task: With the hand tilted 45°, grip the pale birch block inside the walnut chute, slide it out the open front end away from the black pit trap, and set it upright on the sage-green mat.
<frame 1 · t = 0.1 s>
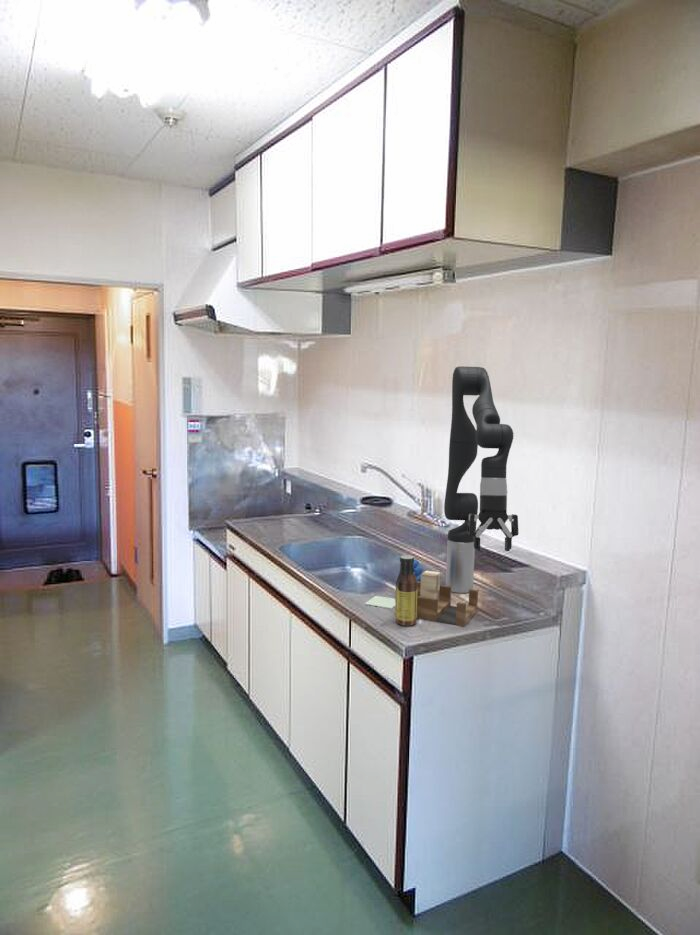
hand: (492, 550, 189), 22 cm above the countertop, tool pointing down, fingers open, 8 cm apart
block: (429, 605, 203), point 2 cm above the countertop, touching tunnel
grapes: (414, 594, 221), on the countertop
mat: (383, 602, 211), on the countertop
tunnel: (435, 612, 203), on the countertop
sauce bottle: (405, 623, 193), on the countertop
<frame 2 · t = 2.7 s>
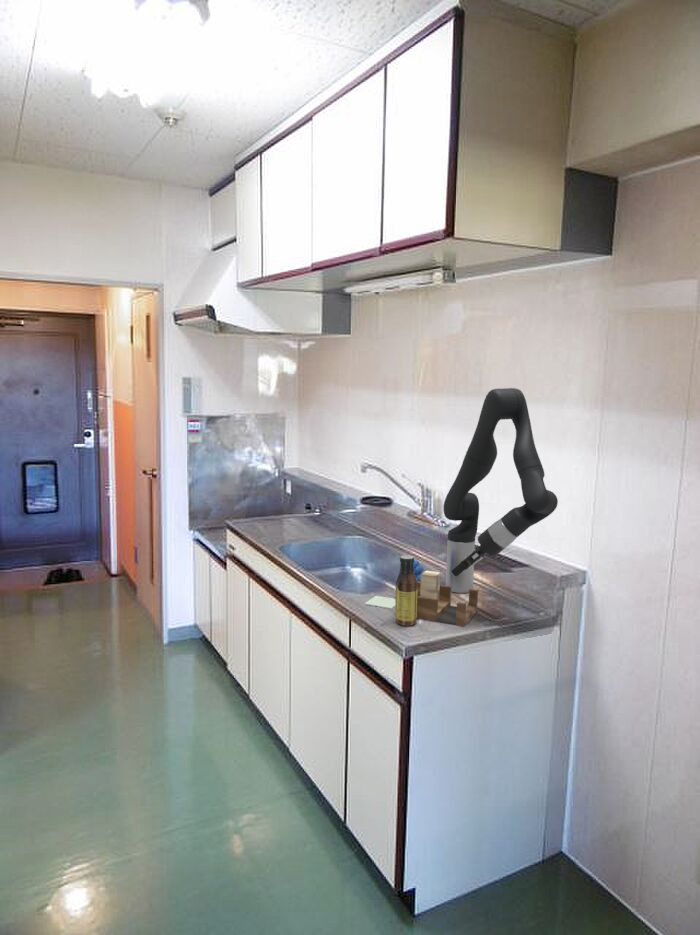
hand: (457, 570, 199), 14 cm above the countertop, tool tilted 45°, fingers open, 8 cm apart
nothing on the countertop moved.
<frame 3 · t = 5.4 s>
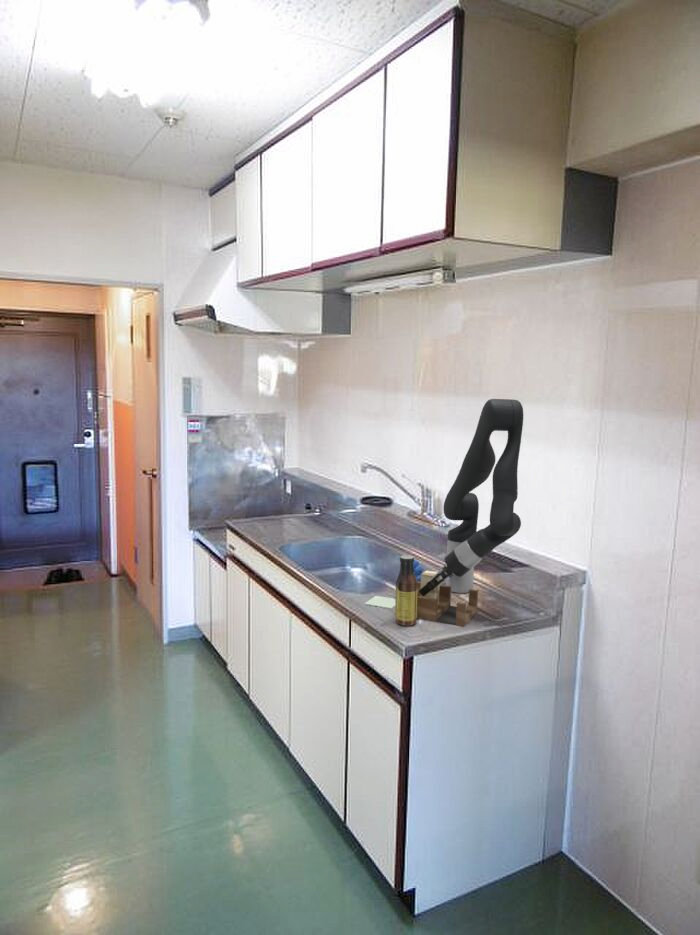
hand: (424, 591, 204), 6 cm above the countertop, tool tilted 45°, fingers closed on block, 5 cm apart
block: (429, 605, 203), point 2 cm above the countertop, touching gripper, tunnel
everything else where it was.
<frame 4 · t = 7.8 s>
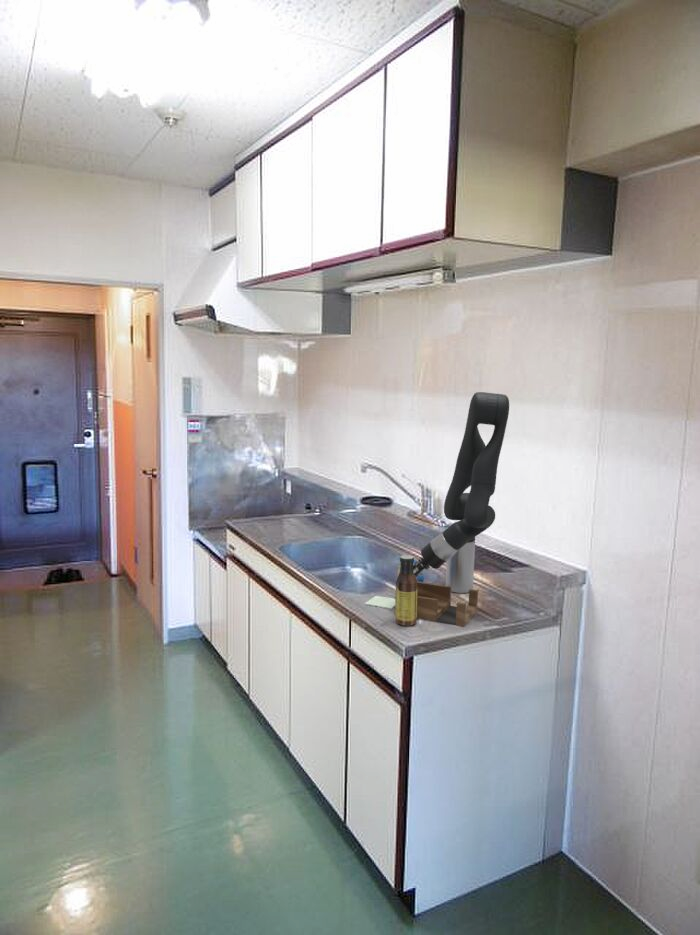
hand: (401, 583, 207), 8 cm above the countertop, tool tilted 45°, fingers closed on block, 5 cm apart
block: (406, 597, 206), point 3 cm above the countertop, touching gripper
everything else where it was.
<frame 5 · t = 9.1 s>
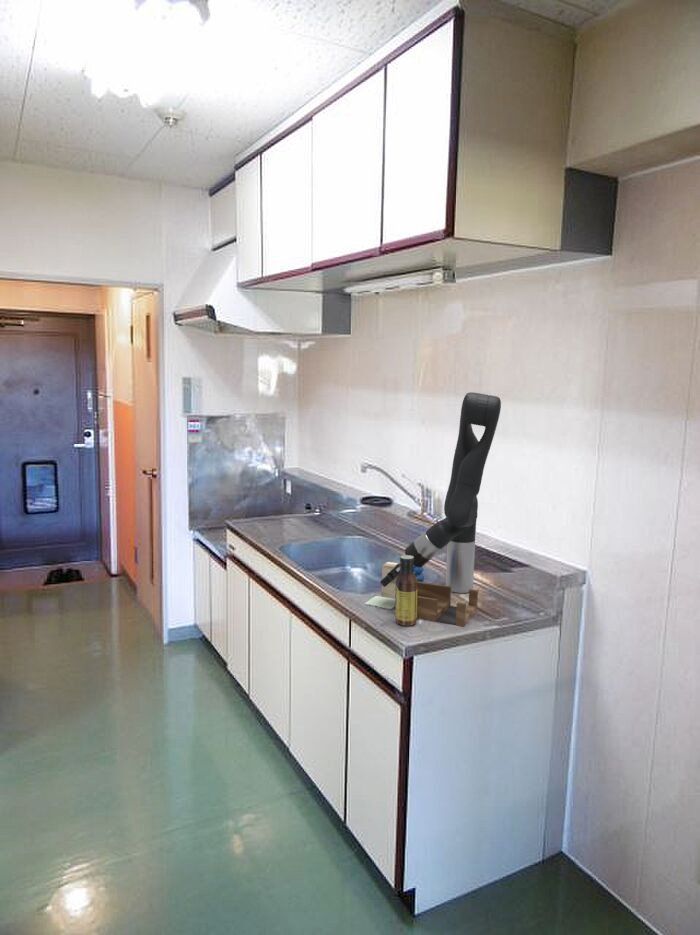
hand: (385, 581, 209), 7 cm above the countertop, tool tilted 45°, fingers closed on block, 5 cm apart
block: (390, 595, 209), point 3 cm above the countertop, touching gripper
everything else where it was.
when the fingers open (6 cm above the countertop, at t = 10.2 s): block drops 1 cm, resting on mat.
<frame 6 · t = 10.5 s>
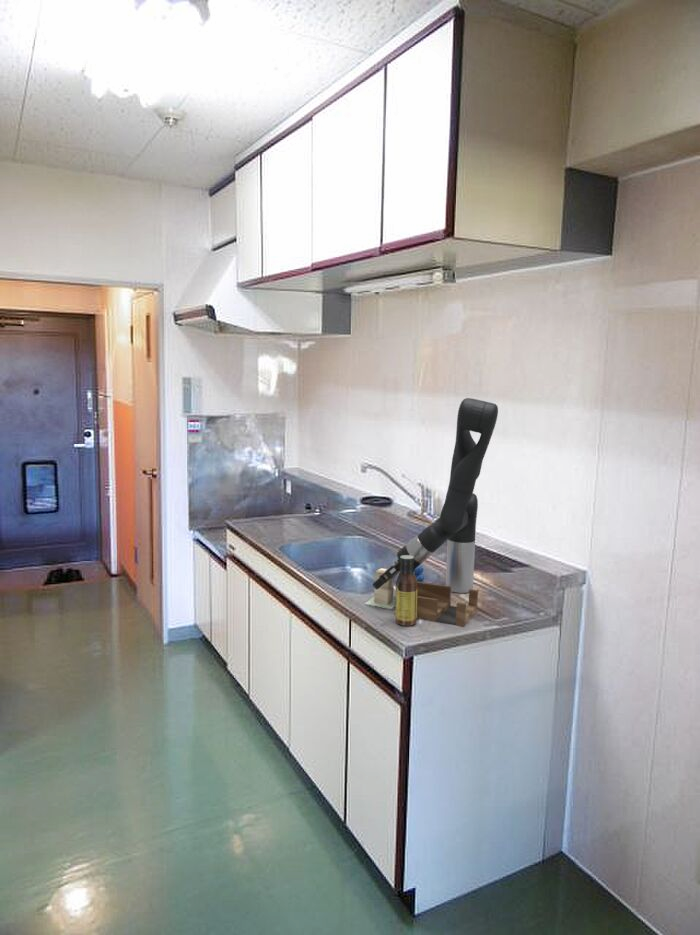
hand: (379, 583, 211), 6 cm above the countertop, tool tilted 45°, fingers open, 8 cm apart
block: (383, 601, 211), resting on mat
everything else where it was.
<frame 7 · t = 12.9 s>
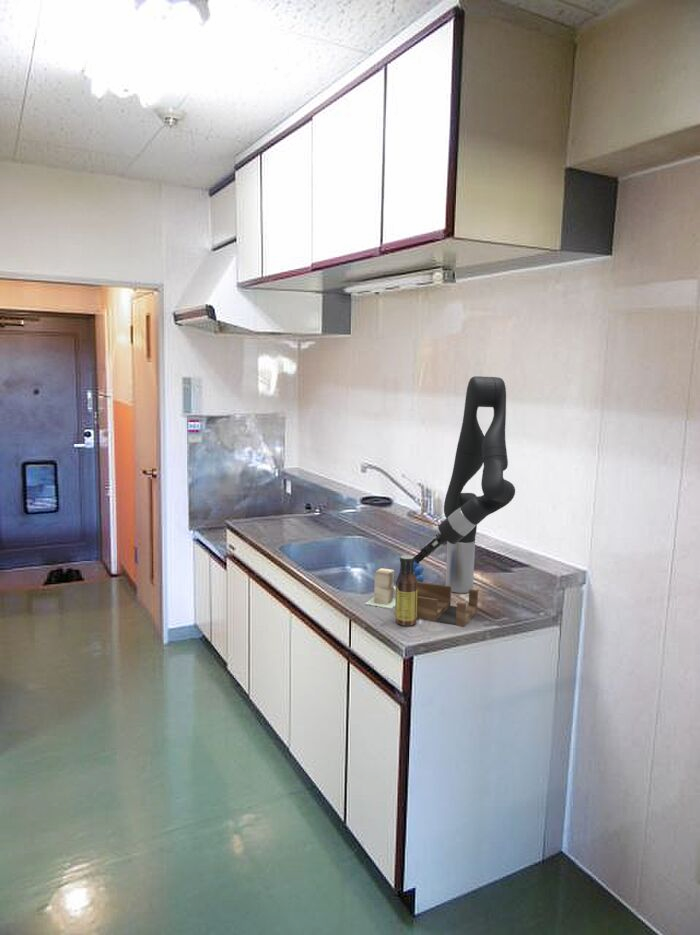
hand: (419, 557, 204), 16 cm above the countertop, tool tilted 45°, fingers open, 8 cm apart
nothing on the countertop moved.
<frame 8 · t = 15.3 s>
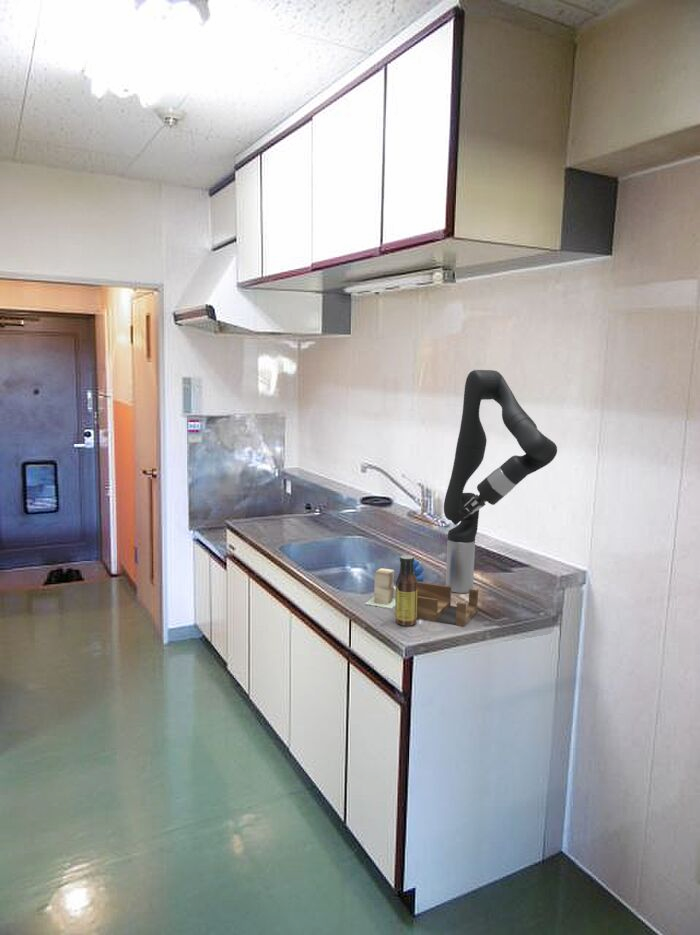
hand: (457, 520, 200), 29 cm above the countertop, tool tilted 45°, fingers open, 8 cm apart
nothing on the countertop moved.
at the end: block inside the target area (0.1 cm from its centre), resting on mat; block tilted 0°; the gripper is holding nothing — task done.
